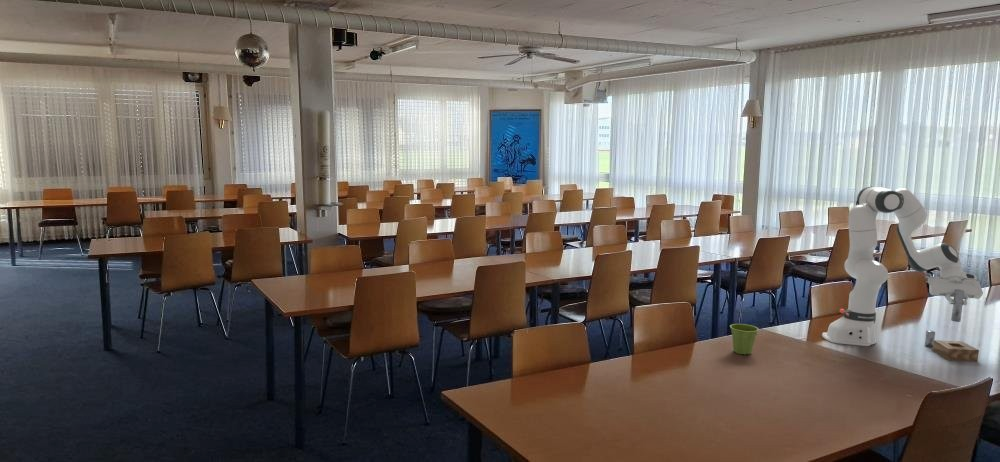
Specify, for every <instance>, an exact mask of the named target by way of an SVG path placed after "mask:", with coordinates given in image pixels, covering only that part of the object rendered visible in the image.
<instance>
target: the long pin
mask: <svg viewBox="0 0 1000 462" xmlns="http://www.w3.org/2000/svg"><path fill="white" fill-rule="evenodd" d="M953 299H954V302H955V303H954V304H952V309H951V316H950V320H951V321H952V322H957V323H960V322H961V320H962V312H963V306H964V305H963V300H965V299H964V290H959V289H955V293H954V297H953Z"/></svg>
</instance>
